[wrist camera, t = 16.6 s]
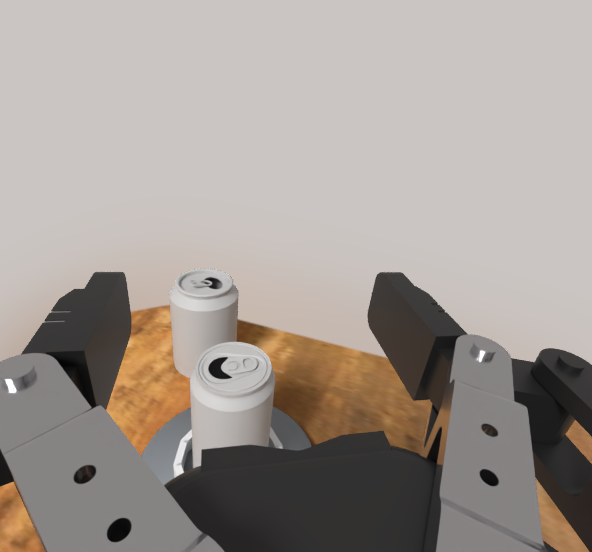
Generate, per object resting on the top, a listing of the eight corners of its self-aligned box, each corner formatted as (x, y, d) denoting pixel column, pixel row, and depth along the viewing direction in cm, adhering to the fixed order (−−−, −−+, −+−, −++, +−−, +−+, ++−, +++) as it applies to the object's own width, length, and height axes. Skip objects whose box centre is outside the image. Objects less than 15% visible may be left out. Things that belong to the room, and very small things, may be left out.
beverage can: (191, 442, 34) (187, 341, 29) (258, 430, 36) (266, 334, 31) (195, 511, 29) (190, 404, 23) (273, 492, 31) (286, 389, 25)
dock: (343, 450, 36) (347, 433, 35) (250, 633, 24) (252, 616, 23) (217, 383, 43) (217, 367, 41) (90, 499, 30) (85, 480, 29)
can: (246, 372, 45) (250, 288, 39) (186, 394, 41) (181, 303, 35) (221, 338, 50) (222, 260, 44) (166, 354, 46) (159, 270, 41)
